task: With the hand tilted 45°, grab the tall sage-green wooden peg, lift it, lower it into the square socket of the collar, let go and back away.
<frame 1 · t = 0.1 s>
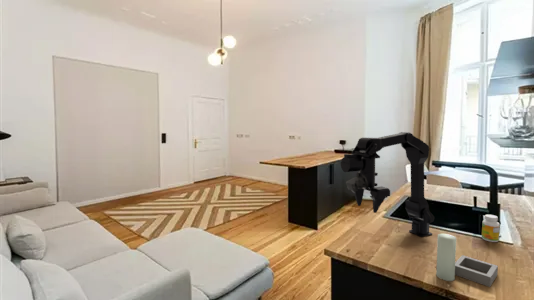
hand: (366, 209, 107), 15 cm above the kitchen counter, tool pointing down, fingers open, 9 cm apart
socket collar: (474, 274, 86), on the kitchen counter
sage peg: (445, 276, 85), on the kitchen counter
supplement bottle: (489, 239, 110), on the kitchen counter
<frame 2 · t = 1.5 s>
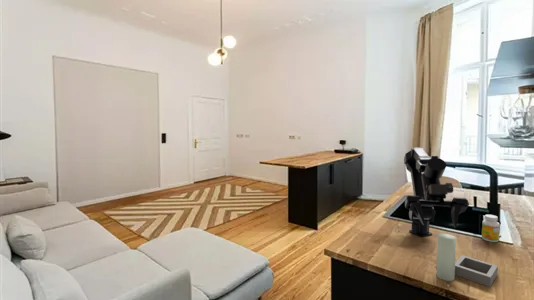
hand: (439, 226, 91), 13 cm above the kitchen counter, tool tilted 45°, fingers open, 9 cm apart
nothing on the kitchen counter moved.
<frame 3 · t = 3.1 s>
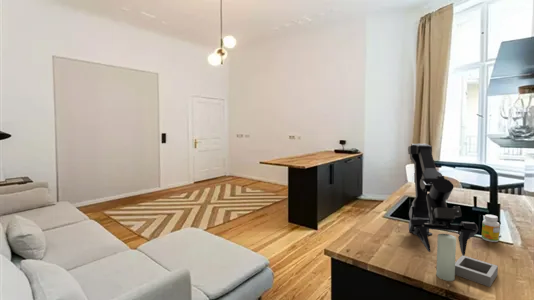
hand: (446, 253, 84), 8 cm above the kitchen counter, tool tilted 45°, fingers open, 9 cm apart
nothing on the kitchen counter moved.
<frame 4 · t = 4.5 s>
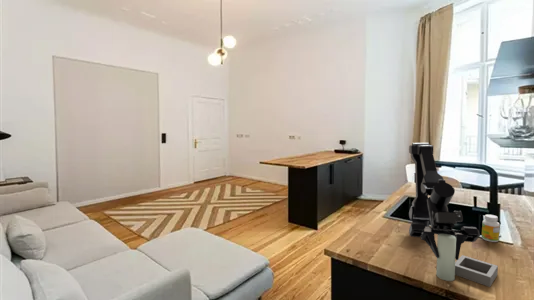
hand: (447, 258, 83), 7 cm above the kitchen counter, tool tilted 45°, fingers closed on sage peg, 5 cm apart
sage peg: (445, 276, 85), on the kitchen counter, touching gripper
everything else where it was.
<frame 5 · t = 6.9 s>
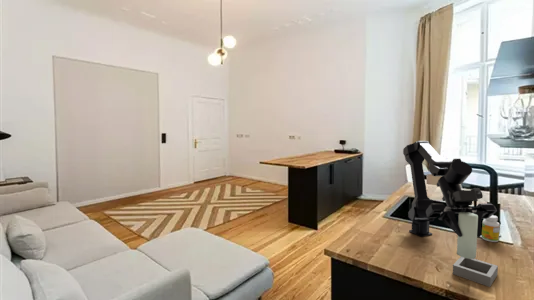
hand: (470, 236, 83), 13 cm above the kitchen counter, tool tilted 45°, fingers closed on sage peg, 5 cm apart
sage peg: (466, 254, 85), point 7 cm above the kitchen counter, touching gripper
everything else where it was.
when the fingers open (8 cm above the kitchen counter, at t = 9.3 s): sage peg drops 1 cm, resting in socket collar.
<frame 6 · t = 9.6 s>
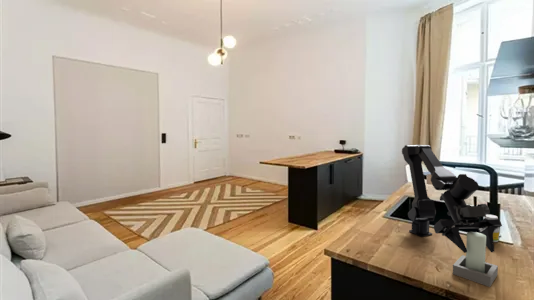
hand: (479, 252, 84), 8 cm above the kitchen counter, tool tilted 45°, fingers open, 8 cm apart
sage peg: (474, 274, 86), resting in socket collar
everything else where it was.
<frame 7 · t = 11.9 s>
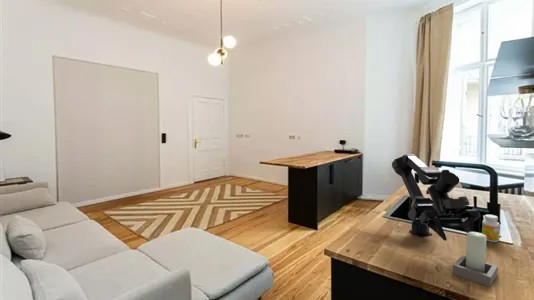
hand: (459, 239, 93), 8 cm above the kitchen counter, tool tilted 45°, fingers open, 9 cm apart
nothing on the kitchen counter moved.
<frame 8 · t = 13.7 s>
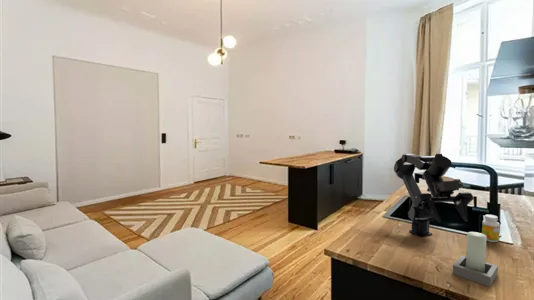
hand: (453, 221, 94), 14 cm above the kitchen counter, tool tilted 45°, fingers open, 9 cm apart
nothing on the kitchen counter moved.
at the end: sage peg 0.0 cm off-centre on the socket collar, point 0.0 cm above the socket collar's base; sage peg tilted 0°; the gripper is holding nothing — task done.
